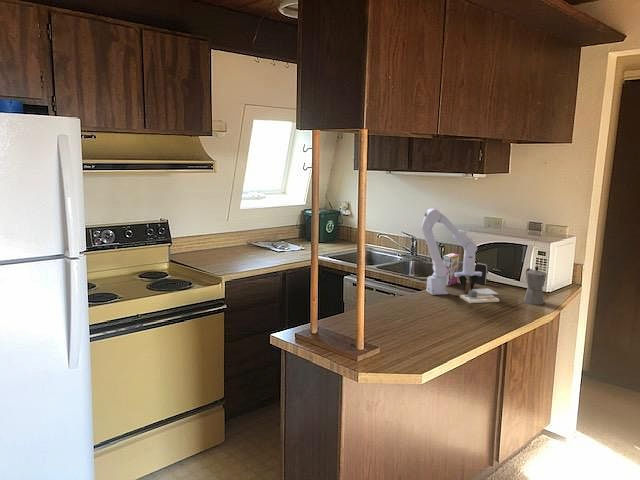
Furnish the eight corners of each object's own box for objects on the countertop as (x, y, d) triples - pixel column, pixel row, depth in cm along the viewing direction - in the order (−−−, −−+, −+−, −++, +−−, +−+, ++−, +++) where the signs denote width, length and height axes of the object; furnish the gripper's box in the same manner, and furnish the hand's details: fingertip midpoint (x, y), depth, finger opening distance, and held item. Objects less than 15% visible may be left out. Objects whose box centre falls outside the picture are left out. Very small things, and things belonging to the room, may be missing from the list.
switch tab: (470, 298, 257) (471, 292, 257) (468, 296, 260) (468, 290, 260) (476, 297, 258) (476, 291, 257) (473, 296, 261) (473, 290, 260)
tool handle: (465, 294, 268) (466, 283, 267) (461, 292, 272) (462, 281, 271) (471, 294, 269) (472, 282, 268) (468, 292, 273) (469, 281, 272)
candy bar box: (449, 286, 284) (451, 257, 281) (440, 284, 287) (442, 255, 284) (457, 282, 293) (459, 254, 290) (449, 281, 296) (451, 252, 293)
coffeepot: (550, 306, 252) (553, 269, 248) (531, 306, 250) (535, 269, 247) (533, 297, 267) (536, 262, 263) (515, 297, 265) (518, 262, 262)
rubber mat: (480, 295, 267) (480, 294, 267) (470, 290, 276) (471, 289, 276) (498, 295, 269) (498, 293, 269) (488, 289, 279) (488, 288, 278)
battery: (488, 284, 291) (489, 264, 289) (484, 285, 288) (486, 265, 286) (476, 281, 296) (478, 262, 294) (473, 282, 293) (474, 262, 291)
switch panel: (469, 303, 254) (469, 299, 253) (459, 297, 263) (460, 293, 263) (499, 301, 257) (499, 298, 257) (488, 296, 267) (488, 292, 266)
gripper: (459, 266, 262) (457, 292, 265) (485, 265, 266) (483, 291, 268) (453, 263, 269) (451, 288, 272) (478, 262, 272) (476, 287, 275)
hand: (467, 289), depth 270 cm, fingers closed on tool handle, 4 cm apart
